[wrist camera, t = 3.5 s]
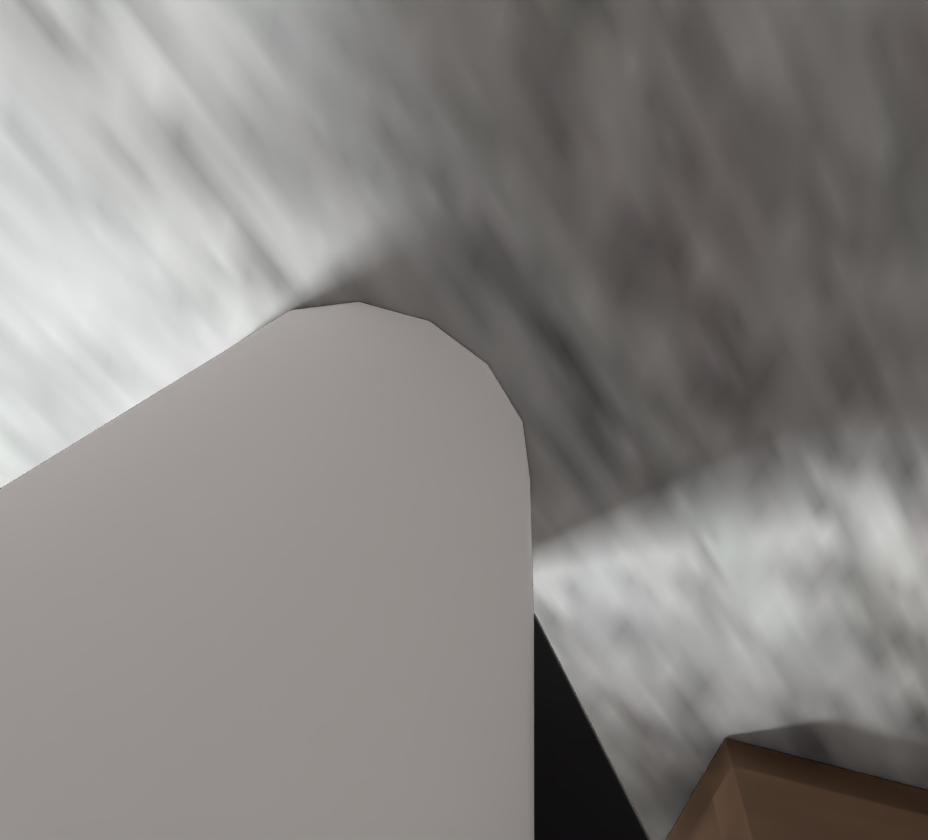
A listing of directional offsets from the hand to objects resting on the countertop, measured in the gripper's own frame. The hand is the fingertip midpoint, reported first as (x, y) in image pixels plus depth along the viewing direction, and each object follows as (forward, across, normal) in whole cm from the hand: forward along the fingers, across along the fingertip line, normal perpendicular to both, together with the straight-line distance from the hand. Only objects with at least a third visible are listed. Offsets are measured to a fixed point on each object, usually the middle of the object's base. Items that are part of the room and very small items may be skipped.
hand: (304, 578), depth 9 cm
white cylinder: (+3, 0, 0) cm, 3 cm away
